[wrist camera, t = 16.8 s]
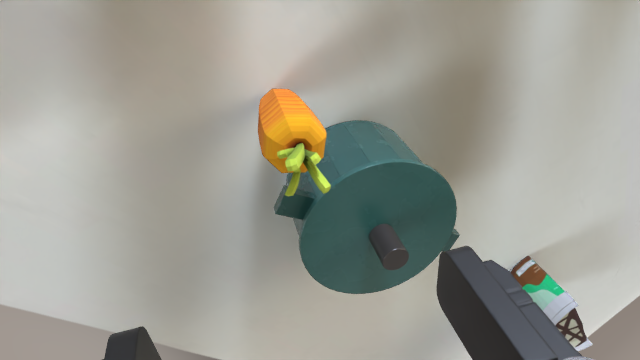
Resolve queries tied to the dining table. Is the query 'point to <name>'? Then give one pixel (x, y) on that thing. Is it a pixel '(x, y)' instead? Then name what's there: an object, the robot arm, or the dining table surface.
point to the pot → (346, 164)
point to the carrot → (291, 137)
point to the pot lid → (377, 226)
